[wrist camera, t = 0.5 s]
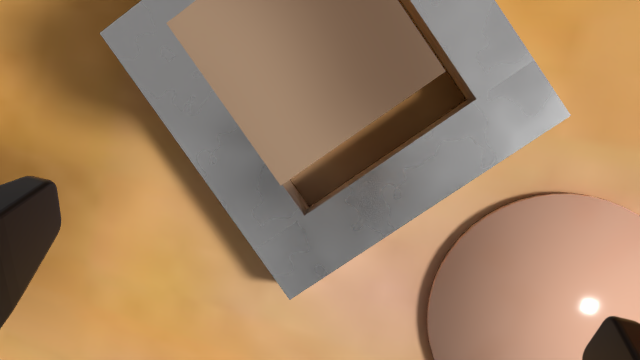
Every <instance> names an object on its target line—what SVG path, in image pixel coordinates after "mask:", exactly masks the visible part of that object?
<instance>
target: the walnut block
mask: <svg viewBox="0 0 640 360" xmlns="http://www.w3.org/2000/svg"><path fill="white" fill-rule="evenodd" d="M166 24H167V25H168V26H169V28H170V29H171V31H172V32H173V33H174V35H175V36H176V38H177V39H178V41H179V42H180V43H181V45H182V46H183V48H184V49H185V51H186V52H187V53H188V55H189V56H190V58H191V59H192V60H193V62H194V63H195V65H196V66H197V68H198V69H199V70H200V72H201V73H202V75H203V76H204V78H205V79H206V80H207V82H208V83H209V85H210V86H211V87H212V89H213V90H214V92H215V93H216V95H217V96H218V97H219V99H220V100H221V102H222V103H223V105H224V106H225V107H226V109H227V110H228V112H229V113H230V114H231V116H232V117H233V119H234V120H235V122H236V123H237V124H238V126H239V127H240V129H241V130H242V132H243V133H244V134H245V136H246V137H247V139H248V140H249V142H250V143H251V144H252V146H253V147H254V149H255V150H256V151H257V153H258V154H259V156H260V157H261V159H262V160H263V161H264V163H265V164H266V166H267V167H268V169H269V170H270V171H271V173H272V174H273V176H274V177H275V178H276V180H277V181H278V183H279V184H280V186H281V185H283V184H284V183H285V182H287V181H288V180H290V179H291V178H293V177H294V176H296V175H297V174H298V173H300V172H301V171H303V170H304V169H306V168H307V167H308V166H310V165H311V164H313V163H314V162H316V161H317V160H319V159H320V158H321V157H323V156H324V155H326V154H327V153H329V152H330V151H332V150H333V149H334V148H336V147H337V146H339V145H340V144H342V143H343V142H345V141H346V140H347V139H349V138H350V137H352V136H353V135H355V134H356V133H358V132H359V131H360V130H362V129H363V128H365V127H366V126H368V125H369V124H371V123H372V122H373V121H375V120H376V119H378V118H379V117H381V116H382V115H384V114H385V113H386V112H388V111H389V110H391V109H392V108H394V107H395V106H397V105H398V104H399V103H401V102H402V101H404V100H405V99H407V98H408V97H410V96H411V95H412V94H414V93H415V92H417V91H418V90H420V89H421V88H423V87H424V86H425V85H427V84H428V83H430V82H431V81H433V80H434V79H436V78H437V77H438V76H440V75H441V74H443V73H444V72H446V71H445V69H444V68H443V66H442V65H441V63H440V62H439V60H438V59H437V57H436V56H435V54H434V53H433V51H432V50H431V48H430V47H429V46H428V44H427V43H426V41H425V40H424V38H423V37H422V35H421V34H420V32H419V31H418V29H417V28H416V26H415V25H414V23H413V22H412V20H411V19H410V17H409V16H408V14H407V13H406V11H405V10H404V8H403V7H402V5H401V4H400V2H399V1H398V0H196V1H194V2H193V3H192V4H190V5H189V6H188V7H187V8H185V9H184V10H183V11H181V12H180V13H179V14H177V15H176V16H175V17H174V18H172V19H171V20H170V21H168V22H167V23H166Z"/></svg>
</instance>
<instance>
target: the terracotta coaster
mask: <svg viewBox="0 0 640 360" xmlns="http://www.w3.org/2000/svg"><path fill="white" fill-rule="evenodd" d="M609 316H617V317H621V318H625V319H630V320H634V321H636V322H638V323H640V215H638V214H636V213H634V212H632V211H631V210H629V209H627V208H625V207H623V206H620V205H617V204H615V203H612V202H610V201H607V200H604V199H600V198H596V197H592V196H588V195H581V194H572V193H551V194H544V195H536V196H532V197H528V198H524V199H520V200H517V201H514V202H512V203H509V204H507V205H504V206H502V207H500V208H498V209H496V210H494V211H493V212H491V213H489V214H487V215H486V216H484V217H483V218H481V219H480V220H479V221H477V222H476V223H475V224H473V225H472V226H471V227H470V228H469V229H468V230H467V231H466V232H465V233H464V234H462V235H461V236H460V237H459V239H458V240H457V241H456V242H455V244H454V245H453V246H452V247H451V249H450V250H449V251H448V253H447V255H446V256H445V258H444V259H443V261H442V263H441V264H440V267H439V269H438V271H437V273H436V276H435V278H434V281H433V284H432V288H431V291H430V295H429V302H428V309H427V329H428V336H429V343H430V346H431V350H432V354H433V357H434V360H582V356H583V352H584V350H585V347H586V346H587V344H588V343H589V341H590V340H591V338H592V337H593V335H594V334H595V333H596V331H597V330H598V328H599V327H600V325H601V324H602V322H603V321H604V320H605V319H606V318H607V317H609Z"/></svg>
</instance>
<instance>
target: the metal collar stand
mask: <svg viewBox="0 0 640 360" xmlns="http://www.w3.org/2000/svg"><path fill="white" fill-rule="evenodd" d="M194 1H196V0H141V1H140V2H139V3H137V4H136V5H135V6H134V7H132V8H131V9H130V10H129V11H127V12H126V13H125V14H123V15H122V16H121V17H120V18H118V19H117V20H116V21H114V22H113V23H112V24H111V25H109V26H108V27H107V28H106V29H104V30H103V31H102V32H100V35H101V36H102V37H103V39H104V40H105V42H106V43H107V44H108V46H109V47H110V49H111V50H112V51H113V53H114V54H115V56H116V57H117V58H118V60H119V61H120V63H121V64H122V65H123V67H124V68H125V70H126V71H127V72H128V74H129V75H130V77H131V78H132V79H133V81H134V82H135V84H136V85H137V86H138V88H139V89H140V91H141V92H142V93H143V95H144V96H145V98H146V99H147V100H148V102H149V103H150V105H151V106H152V107H153V109H154V110H155V112H156V113H157V114H158V116H159V117H160V119H161V120H162V122H163V123H164V124H165V126H166V127H167V129H168V130H169V131H170V133H171V134H172V136H173V137H174V138H175V140H176V141H177V143H178V144H179V145H180V147H181V148H182V150H183V151H184V152H185V154H186V155H187V157H188V158H189V159H190V161H191V162H192V164H193V165H194V166H195V168H196V169H197V171H198V172H199V173H200V175H201V176H202V178H203V179H204V180H205V182H206V183H207V185H208V186H209V187H210V189H211V190H212V192H213V193H214V194H215V196H216V197H217V199H218V200H219V201H220V203H221V204H222V206H223V207H224V208H225V210H226V211H227V213H228V214H229V216H230V217H231V218H232V220H233V221H234V223H235V224H236V225H237V227H238V228H239V230H240V231H241V232H242V234H243V235H244V237H245V238H246V239H247V241H248V242H249V244H250V245H251V246H252V248H253V249H254V251H255V252H256V253H257V255H258V256H259V258H260V259H261V260H262V262H263V263H264V265H265V266H266V267H267V269H268V270H269V272H270V273H271V274H272V276H273V277H274V279H275V280H276V281H277V283H278V284H279V286H280V287H281V288H282V290H283V291H284V293H285V294H286V295H287V297H288V298H289V300H290V299H292V298H293V297H295V296H296V295H298V294H299V293H301V292H303V291H304V290H306V289H307V288H309V287H310V286H312V285H313V284H315V283H316V282H318V281H319V280H321V279H322V278H324V277H325V276H327V275H328V274H330V273H331V272H333V271H335V270H336V269H338V268H339V267H341V266H342V265H344V264H345V263H347V262H348V261H350V260H351V259H353V258H354V257H356V256H357V255H359V254H360V253H362V252H363V251H365V250H367V249H368V248H370V247H371V246H373V245H374V244H376V243H377V242H379V241H380V240H382V239H383V238H385V237H386V236H388V235H389V234H391V233H392V232H394V231H396V230H397V229H399V228H400V227H402V226H403V225H405V224H406V223H408V222H409V221H411V220H412V219H414V218H415V217H417V216H418V215H420V214H421V213H423V212H424V211H426V210H428V209H429V208H431V207H432V206H434V205H435V204H437V203H438V202H440V201H441V200H443V199H444V198H446V197H447V196H449V195H450V194H452V193H453V192H455V191H456V190H458V189H460V188H461V187H463V186H464V185H466V184H467V183H469V182H470V181H472V180H473V179H475V178H476V177H478V176H479V175H481V174H482V173H484V172H485V171H487V170H489V169H490V168H492V167H493V166H495V165H496V164H498V163H499V162H501V161H502V160H504V159H505V158H507V157H508V156H510V155H511V154H513V153H514V152H516V151H517V150H519V149H521V148H522V147H524V146H525V145H527V144H528V143H530V142H531V141H533V140H534V139H536V138H537V137H539V136H540V135H542V134H543V133H545V132H546V131H548V130H550V129H551V128H553V127H554V126H556V125H557V124H559V123H560V122H562V121H563V120H565V119H566V118H568V117H569V116H571V115H570V114H569V112H568V110H567V109H566V107H565V106H564V104H563V103H562V101H561V100H560V98H559V97H558V95H557V94H556V92H555V91H554V89H553V88H552V86H551V85H550V83H549V82H548V80H547V79H546V77H545V76H544V74H543V73H542V71H541V70H540V68H539V67H538V65H537V64H536V62H535V61H534V59H533V58H532V56H531V55H530V53H529V51H528V50H527V48H526V47H525V45H524V44H523V42H522V41H521V39H520V38H519V36H518V35H517V33H516V32H515V30H514V29H513V27H512V26H511V24H510V23H509V21H508V20H507V18H506V17H505V15H504V14H503V12H502V11H501V9H500V8H499V6H498V5H497V3H496V2H495V0H400V1H401V3H402V4H403V6H404V7H405V9H406V10H407V12H408V13H409V15H410V16H411V18H412V19H413V21H414V22H415V24H416V25H417V27H418V28H419V30H420V31H421V33H422V34H423V36H424V37H425V38H426V40H427V41H428V43H429V44H430V46H431V47H432V49H433V50H434V52H435V53H436V55H437V56H438V58H439V59H440V61H441V62H442V64H443V65H444V67H445V68H446V70H447V71H448V73H449V74H450V76H451V77H452V79H453V80H454V82H455V83H456V85H457V86H458V88H459V89H460V91H461V92H462V93H463V95H464V96H465V98H466V99H467V100H466V101H465V102H463V103H462V104H460V105H459V106H457V107H456V108H454V109H453V110H451V111H450V112H449V113H447V114H446V115H444V116H443V117H441V118H440V119H438V120H437V121H435V122H434V123H432V124H431V125H429V126H428V127H426V128H425V129H424V130H422V131H421V132H419V133H418V134H416V135H415V136H413V137H412V138H410V139H409V140H407V141H406V142H404V143H403V144H401V145H400V146H399V147H397V148H396V149H394V150H393V151H391V152H390V153H388V154H387V155H385V156H384V157H382V158H381V159H379V160H378V161H376V162H375V163H374V164H372V165H371V166H369V167H368V168H366V169H365V170H363V171H362V172H360V173H359V174H357V175H356V176H354V177H353V178H351V179H350V180H349V181H347V182H346V183H344V184H343V185H341V186H340V187H338V188H337V189H335V190H334V191H332V192H331V193H329V194H328V195H326V196H325V197H324V198H322V199H321V200H319V201H318V202H316V203H315V204H313V205H312V206H310V207H309V206H308V204H307V203H306V202H305V200H304V199H303V197H302V196H301V194H300V193H299V192H298V190H297V189H296V187H295V186H294V184H293V183H292V182H291V180H288V181H287V182H285V183H284V184H283V185H281V186H280V184H279V183H278V181H277V180H276V178H275V177H274V176H273V174H272V173H271V171H270V170H269V169H268V167H267V166H266V164H265V163H264V161H263V160H262V159H261V157H260V156H259V154H258V153H257V151H256V150H255V149H254V147H253V146H252V144H251V143H250V142H249V140H248V139H247V137H246V136H245V134H244V133H243V132H242V130H241V129H240V127H239V126H238V124H237V123H236V122H235V120H234V119H233V117H232V116H231V114H230V113H229V112H228V110H227V109H226V107H225V106H224V105H223V103H222V102H221V100H220V99H219V97H218V96H217V95H216V93H215V92H214V90H213V89H212V87H211V86H210V85H209V83H208V82H207V80H206V79H205V78H204V76H203V75H202V73H201V72H200V70H199V69H198V68H197V66H196V65H195V63H194V62H193V60H192V59H191V58H190V56H189V55H188V53H187V52H186V51H185V49H184V48H183V46H182V45H181V43H180V42H179V41H178V39H177V38H176V36H175V35H174V33H173V32H172V31H171V29H170V28H169V26H168V25H167V24H166V23H167V22H168V21H170V20H171V19H172V18H174V17H175V16H176V15H177V14H179V13H180V12H181V11H183V10H184V9H185V8H187V7H188V6H189V5H190V4H192V3H193V2H194Z"/></svg>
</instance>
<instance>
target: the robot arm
mask: <svg viewBox="0 0 640 360" xmlns="http://www.w3.org/2000/svg"><path fill="white" fill-rule="evenodd" d="M60 226H61V214H60V207H59V200H58V193H57V187H56V185H55V183H54V182H52V181H51V180H47V179H43V178H39V177H35V176H25V177H22V178H19V179H16V180H14V181H11V182H8V183H5V184H2V185H0V328H1V327H2V326H3V324H4V323H5V321H6V320H7V319H8V317H9V316H10V314H11V313H12V311H13V310H14V308H15V307H16V305H17V303H18V302H19V300H20V299H21V297H22V295H23V293H24V292H25V290H26V288H27V287H28V285H29V283H30V281H31V280H32V278H33V276H34V274H35V273H36V271H37V269H38V267H39V266H40V264H41V262H42V261H43V259H44V257H45V255H46V254H47V252H48V250H49V248H50V247H51V245H52V243H53V242H54V240H55V238H56V236H57V234H58V232H59V230H60ZM582 360H640V323H638V322H636V321H634V320H630V319H625V318H621V317H617V316H609V317H607V318H606V319H605V320H604V321H603V322H602V324H601V325H600V327H599V328H598V330H597V331H596V333H595V334H594V335H593V337H592V338H591V340H590V341H589V343H588V344H587V346H586V347H585V350H584V352H583V356H582Z"/></svg>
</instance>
